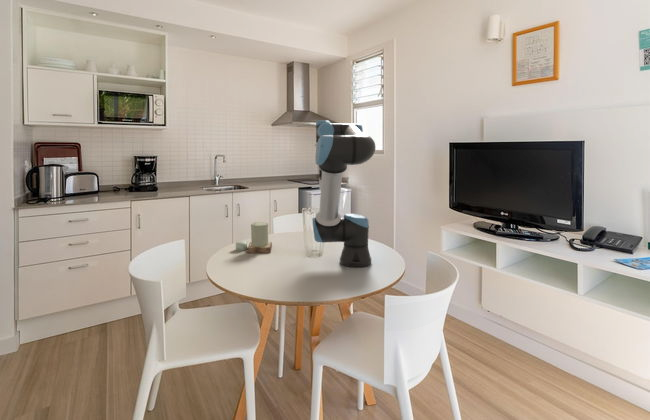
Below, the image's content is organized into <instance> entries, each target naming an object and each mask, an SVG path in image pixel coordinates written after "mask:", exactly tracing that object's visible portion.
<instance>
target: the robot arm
mask: <svg viewBox="0 0 650 420" xmlns="http://www.w3.org/2000/svg"><path fill="white" fill-rule="evenodd" d="M315 122H316V123H315V144H314V147H315V164H316V165H318V168H319V171H318V172H319V173H318V176H319V178H318V179H319V183H318V184H319V185H318V190H320V195H319V198H320V199H319V211H318V212H317V213H316V214H315V217H312V229H313V239H314V240H315V242H316V243H342V242H343V247H342V250H341V254H340V256H339V263H340V265H341V266H345V267H350V268H364V267H368V266H370V265H372V256H371V255H370V249H369V228H370V226H369V225H370V224H369V223H370V222H369V218H368V217H366V216H364V215H361V214H356V213H345V214H344V216H343V217H342V216H341V214H340V211H339V210H340V200H341V190H342V182H343V181H342V180H343V173H346V171H347V169H348V166H353V165H354V166H356V165H361V164H364V163H366V162H368V161H369V160H371V158H372V157H373V156H374V155H375V154H376V153H375V152H376V143H375V140H374V139H373V138H372V137H371V136H370V135H368V134H366V133H365V134H364V130H363V125H362V124H360V123H332V122H331V121H330V120H317V121H315Z"/></svg>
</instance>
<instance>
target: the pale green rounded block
mask: <svg viewBox="0 0 650 420" xmlns="http://www.w3.org/2000/svg"><path fill="white" fill-rule="evenodd" d="M247 248H248V242H247V241H245V240H244V241H243V240H242V241H241V240H240V241H237V242H235V251H237V252H247Z"/></svg>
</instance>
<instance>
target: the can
mask: <svg viewBox="0 0 650 420" xmlns="http://www.w3.org/2000/svg"><path fill="white" fill-rule="evenodd" d="M250 231H251V233H250V235H251V238H250V239H251V242H252V243H251V242H250V243H251V245H252V246H254V247H264V246H267V245H269V243H268V242H269V223H268V222H265V221H258V222H257V221H255V222H251V223H250Z"/></svg>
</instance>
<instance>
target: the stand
mask: <svg viewBox="0 0 650 420" xmlns="http://www.w3.org/2000/svg"><path fill="white" fill-rule="evenodd" d="M251 243H252V241H251V242H249V244H248V245H247V250H246V252H247V254H268V253H269V254H271V251H272V247H273V242H271V241H268V243H269V245H267V246H264V247H254V246H252V245H251Z"/></svg>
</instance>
